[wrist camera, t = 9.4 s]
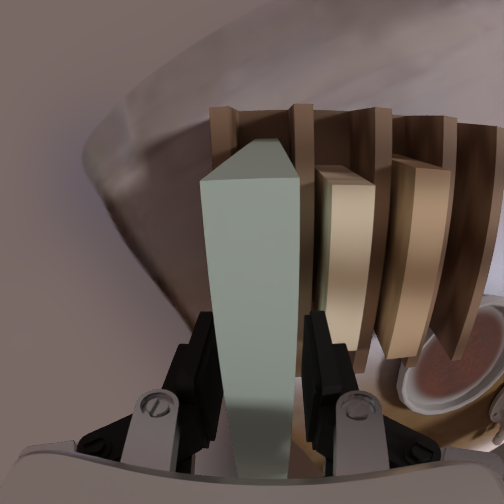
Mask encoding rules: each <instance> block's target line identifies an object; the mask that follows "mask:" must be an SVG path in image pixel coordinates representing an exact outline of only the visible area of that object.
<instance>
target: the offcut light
mask: <svg viewBox="0 0 504 504" xmlns="http://www.w3.org/2000/svg"><path fill="white" fill-rule="evenodd" d="M374 204H375V185H374V184H372V183H370V182H369V181H367V180H366V179H364V178H362V177H361V176H359V175H357V174H356V173H354V172H352V171H351V170H349V169H347V168H346V167H344V166H342V165H314V248H313V276H312V303H313V308H314V311H325V315H326V319H327V323H328V327H329V331H330V335H331V339H332V344H336V343H345V344H346V346H347V349H348V351H355V350H357V347H358V341H359V335H360V329H361V323H362V317H363V310H364V303H365V296H366V289H367V281H368V272H369V264H370V254H371V244H372V232H373V220H374Z"/></svg>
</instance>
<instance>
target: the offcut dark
mask: <svg viewBox="0 0 504 504" xmlns="http://www.w3.org/2000/svg"><path fill="white" fill-rule="evenodd" d="M450 177H451V171H450V170H447V169H444V168H441V167H438V166H435V165H432V164H429V163H425V162H422V161H419V160H416V159H412V158H409V157H405V156H402V155H398V154H392V169H391V190H390V206H389V218H388V230H387V240H386V249H385V257H384V265H383V273H382V280H381V287H380V294H379V300H378V306H377V312H376V318H375V323H374V331H375V333H376V335H377V338H378V340H379V342H380V345H381V347H382V350H383V352H384V355H385V357H386V359H395V358H404V357H412V356H416V355H417V351H418V348H419V345H420V341H421V338H422V334H423V331H424V327H425V324H426V320H427V316H428V312H429V308H430V304H431V300H432V296H433V291H434V287H435V282H436V277H437V272H438V267H439V262H440V256H441V251H442V245H443V238H444V232H445V224H446V217H447V209H448V199H449V189H450Z"/></svg>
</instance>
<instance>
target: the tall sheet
mask: <svg viewBox="0 0 504 504" xmlns="http://www.w3.org/2000/svg"><path fill="white" fill-rule="evenodd" d="M200 191H201V203H202V215H203V225H204V236H205V246H206V256H207V265H208V275H209V284H210V292H211V301H212V309H213V317H214V325H215V333H216V341H217V348H218V356H219V363H220V370H221V377H222V384H223V391H224V397H225V404H226V410H227V416H228V423H229V429H230V435H231V440H232V446H233V452H234V458H235V463H236V469H237V474H238V478H245V479H287V476H288V464H289V454H290V443H291V442H290V441H291V430H292V417H293V403H294V387H295V370H296V351H297V328H298V299H299V253H300V178H299V176H298V174H297V172H296V170H295V168H294V167H293V165H292V163H291V161H290V159H289V157H288V156H287V154H286V152H285V150H284V149H283V147H282V145H281V143H280V142H279V140H278V138H275V139H254V140H253V141H252V142H250V143H249V144H248V145H246V146H245V147H243V148H242V149H241V150H239V151H238V152H237V153H235V154H234V155H233V156H231V157H230V158H229V159H227V160H226V161H225V162H224V163H222V164H221V165H220V166H218V167H217V168H216V169H214V170H213V171H212V172H211V173H209V174H208V175H207V176H205V177H204V178H203V179H202V180H200Z"/></svg>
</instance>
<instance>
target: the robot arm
mask: <svg viewBox="0 0 504 504" xmlns="http://www.w3.org/2000/svg"><path fill="white" fill-rule="evenodd" d="M301 377H302V389H303V402H304V415H305V428H306V441H307V442H312V448H313V450H316V451H317V452H319V453H320V454H322V455H323V456H324V470H323V477H319V478H300V479H245V478H226V477H213V476H202V475H194V471H195V457H196V456H195V453H196V452H198V451H200V450H201V449H202V448H209V443H210V441H215V438H216V432H217V426H218V421H219V415H220V410H221V403H222V398H223V393H224V391H223V384H222V377H221V370H220V363H219V356H218V348H217V341H216V333H215V325H214V317H213V312H200V314H199V316H198V319H197V322H196V325H195V327H194V330H193V333H192V336H191V339H190V341H189V344H179V346H178V348H177V350H176V353H175V355H174V358H173V360H172V363H171V366H170V368H169V371H168V373H167V376H166V379H165V381H164V384H163V387H162V389H155V390H151V391H148V392H146V393H144V394H142V395H141V396H140V397H139V398H138V400H137V402H136V405H135V408H134V412H133V414H131V415H129V416H127V417H124V418H122V419H120V420H118V421H116V422H114V423H111V424H109V425H107V426H105V427H102V428H100V429H98V430H95V431H93V432H91V433H89V434H87V435H85V436H84V437H83V438H82V439H81V440H80V441H79V442H78V443H75V441H74V440H71V441H64V442H57V443H49V444H41V445H32V446H28V447H26V448H25V449H24V450H22V452H21V453H20V455H19V458H18V459H17V460H16V461H15V462H14V463H13V464H12V466H11V467H10V468H9V470H8V471H7V473H6V474H5V476H4V477H3V479H2V480H1V482H0V504H504V482H503V472H504V466H503V462H502V460H501V458H500V457H499V456H498V455H496V454H493V453H490V452H482V451H475V450H468V449H462V448H456V447H450V446H446V448H445V449H444V448H440V447H439V445H438V444H437V443H436V442H435V441H433V440H432V439H430V438H428V437H426V436H424V435H422V434H420V433H418V432H416V431H414V430H412V429H410V428H408V427H406V426H404V425H402V424H400V423H398V422H396V421H394V420H392V419H390V418H388V417H386V416H384V415H383V414H382V407H381V404H380V401H379V400H378V399H377V397H376V396H374V395H373V394H371V393H369V392H366V391H359V389H358V385H357V381H356V377H355V374H354V370H353V366H352V363H351V359H350V356H349V352H348V349H347V346H346V344H345V343H336V344H332V339H331V335H330V331H329V327H328V323H327V319H326V315H325V311H310V313H309V315H304V330H303V348H302V364H301ZM489 417H490V419H491V420H492V422H494V423H500V425H501V426H500V428H499V432H497V434H496V435H495V437H494V438H493V440H492V442H493V444H495V445H499V444H501V442H502V441H503V440H504V387H503V388H502V389H501V390H500V391H499V393H498V394H497V395H496V397H495V398H494V400H493V402H492V404H491V406H490V409H489Z"/></svg>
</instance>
